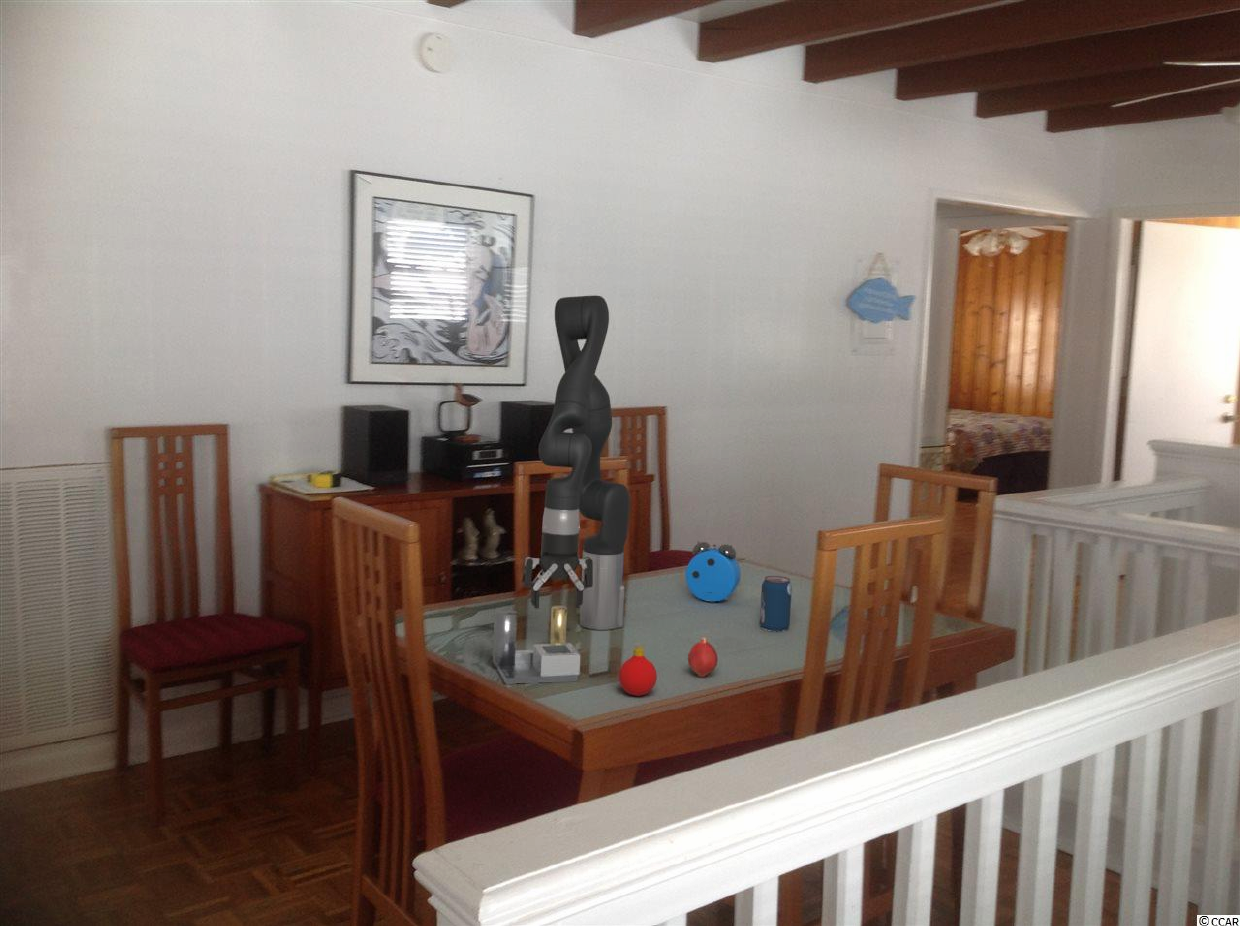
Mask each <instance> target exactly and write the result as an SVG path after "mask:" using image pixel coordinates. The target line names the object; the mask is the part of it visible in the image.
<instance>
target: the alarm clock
mask: <svg viewBox="0 0 1240 926" xmlns="http://www.w3.org/2000/svg"><path fill="white" fill-rule="evenodd" d="M691 550H692V554H693V555H694V556H693V557H692V558H691V559H690V561H689V562H688V564H687V566H686V569H685V581H686V584H687V587H688V589H689V591H690V592H691V594H692V595H694V596H695V597H696V598H697V599H699V600H701V599H702V600H701V601H703V600H709V601H718V602H721V601H723V600H725V598H727V599H728V597H729V596H730V595H732V594H733V592H735V591H736V589H737V588H738V586H739V585H740V584H739V583H740V581H741V568H740V565H739V563H738V561H737V558H736V557H737V549H736V548H735V547H734V546H733V544H731V545H730V544H729V543H723V544H720V546H719V547H718V545H717V544H712V546H711V544H710V543H709V542H708V541H697V543H695V544H694V545H693V547H692V549H691Z"/></svg>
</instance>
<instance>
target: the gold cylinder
mask: <svg viewBox="0 0 1240 926" xmlns="http://www.w3.org/2000/svg"><path fill="white" fill-rule="evenodd" d="M550 611H551V613H550V616H551V617H550V635H549V636H550V637H549V644H563V643H567V642H566V641H567V621H568V618H567V617H568V607H567V606H564V605H554V606H553V605H552V607H551V610H550Z"/></svg>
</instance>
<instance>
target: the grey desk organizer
mask: <svg viewBox="0 0 1240 926" xmlns="http://www.w3.org/2000/svg"><path fill="white" fill-rule="evenodd" d="M493 621H494V622H493V623H494V624H493V647H492V648H493V649H492V650H493V651H492V654H493V655H492V663H493V664H494V667H495V669H496V671H497V672H498V674H499V675H500V678H501V680H503V682H504V684H505V683H506V684H511V683H515V684H514V685H517V684H516V683H532V682H533V683H532V684H537V683H536V682H552V683H569V682H579V676H580V670H581V669H580V668H581V654H580V652H579V651H578V650H577V649H576V648H575V646H574V645H573V644H572V643H571V642H566V643H563V644H550V643H541V644H539V643H538V644H532V649H520V650H519V649H517V632H518V631H517V626H518V623H517V621H518V612H517V611H516V610H512V609H498V610H495V611H494V620H493ZM506 684H505V685H506Z"/></svg>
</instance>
